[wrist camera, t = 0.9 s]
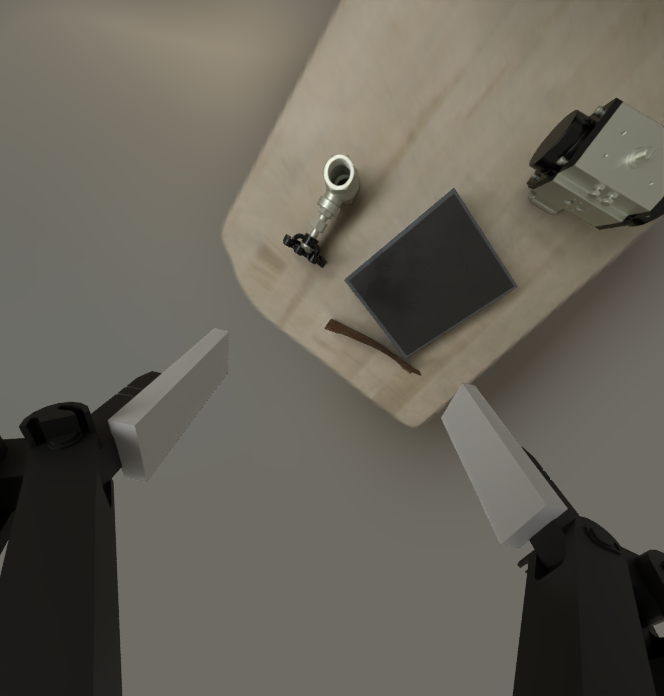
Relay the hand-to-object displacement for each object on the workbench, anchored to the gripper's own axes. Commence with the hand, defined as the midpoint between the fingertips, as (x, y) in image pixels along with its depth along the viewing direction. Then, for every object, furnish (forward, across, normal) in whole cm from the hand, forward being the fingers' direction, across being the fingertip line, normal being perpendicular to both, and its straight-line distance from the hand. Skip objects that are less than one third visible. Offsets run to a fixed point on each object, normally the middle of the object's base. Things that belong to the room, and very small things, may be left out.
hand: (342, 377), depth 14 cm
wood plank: (+24, +7, -9) cm, 27 cm away
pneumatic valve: (+26, +22, +15) cm, 37 cm away
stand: (+25, +11, +2) cm, 27 cm away
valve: (+28, -4, +7) cm, 29 cm away
